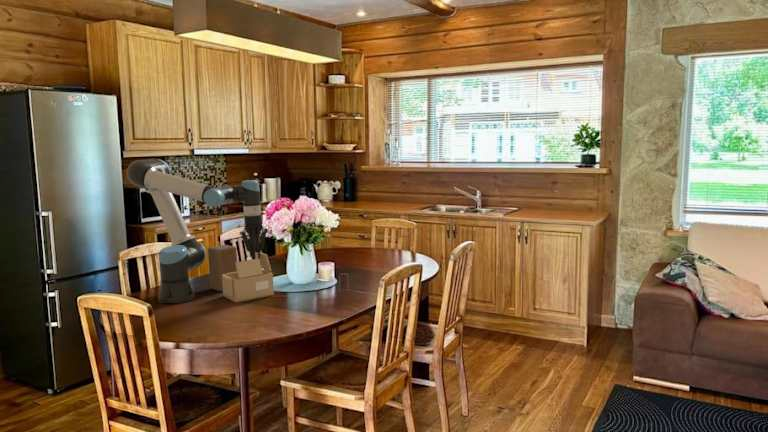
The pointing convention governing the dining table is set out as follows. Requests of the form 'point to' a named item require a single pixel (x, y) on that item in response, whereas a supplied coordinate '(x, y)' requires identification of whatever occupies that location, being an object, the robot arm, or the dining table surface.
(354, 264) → the dining table surface
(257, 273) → the front flap
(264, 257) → the right flap
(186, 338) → the dining table surface
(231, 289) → the carton
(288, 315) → the dining table surface
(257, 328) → the dining table surface
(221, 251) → the wooden block
